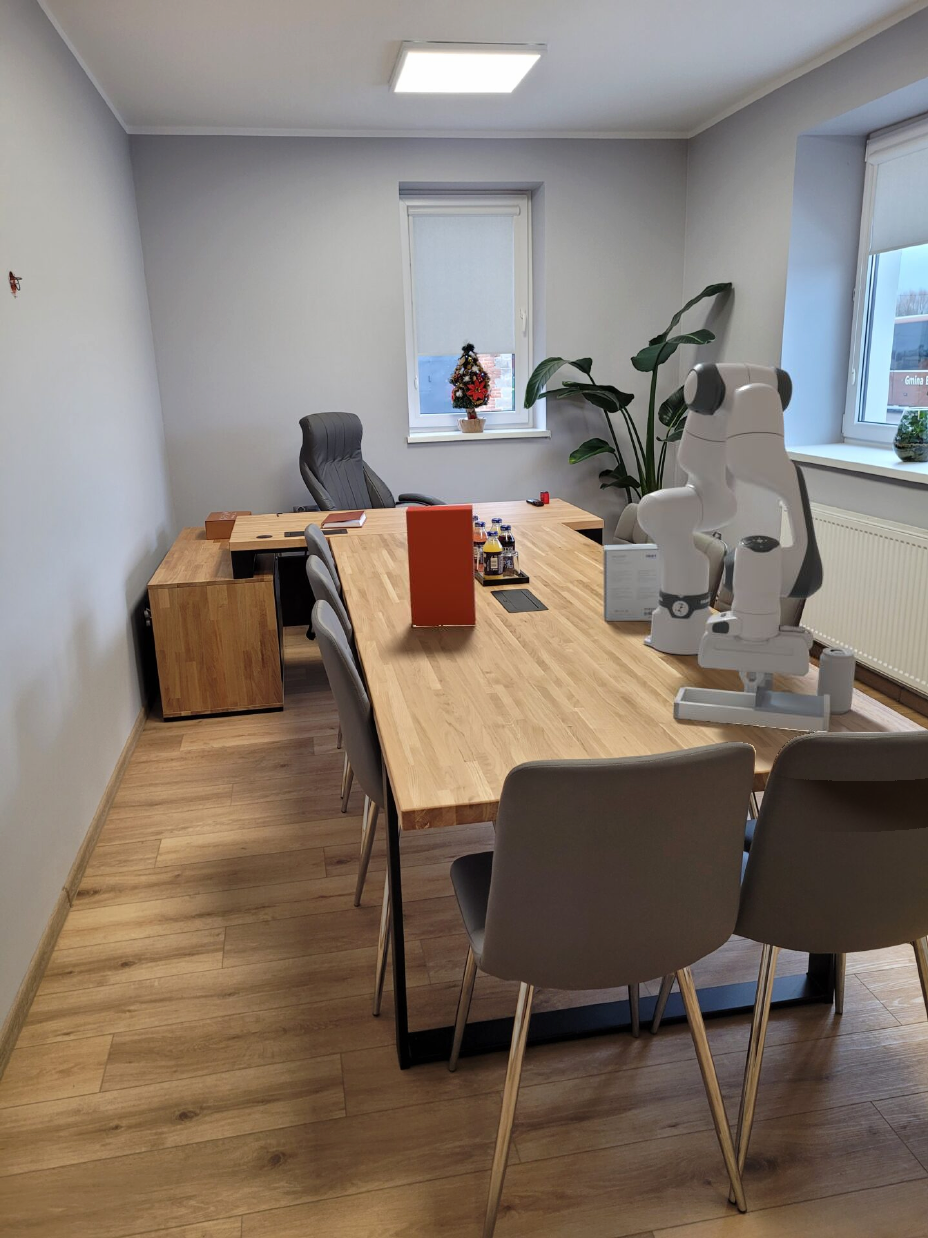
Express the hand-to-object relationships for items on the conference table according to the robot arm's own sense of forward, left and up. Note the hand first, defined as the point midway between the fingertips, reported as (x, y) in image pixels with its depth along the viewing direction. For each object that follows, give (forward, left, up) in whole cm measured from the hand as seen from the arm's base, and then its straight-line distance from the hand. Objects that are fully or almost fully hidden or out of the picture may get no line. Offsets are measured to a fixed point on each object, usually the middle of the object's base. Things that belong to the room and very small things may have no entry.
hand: (750, 692), depth 170 cm
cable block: (-11, +1, -5) cm, 12 cm away
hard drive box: (-65, -36, -5) cm, 74 cm away
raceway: (0, 0, -5) cm, 5 cm away
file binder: (-46, -84, -5) cm, 96 cm away
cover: (0, +7, -2) cm, 7 cm away
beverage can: (-9, +15, -5) cm, 18 cm away
